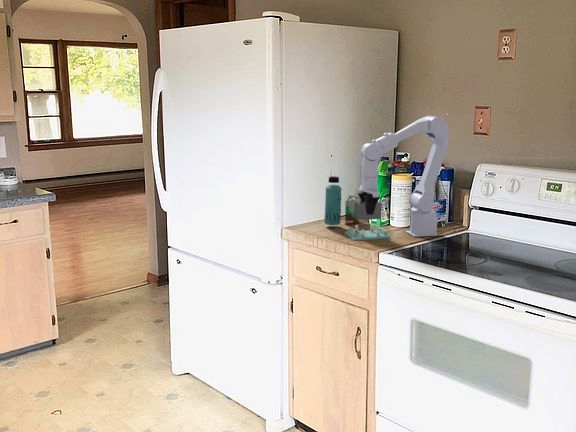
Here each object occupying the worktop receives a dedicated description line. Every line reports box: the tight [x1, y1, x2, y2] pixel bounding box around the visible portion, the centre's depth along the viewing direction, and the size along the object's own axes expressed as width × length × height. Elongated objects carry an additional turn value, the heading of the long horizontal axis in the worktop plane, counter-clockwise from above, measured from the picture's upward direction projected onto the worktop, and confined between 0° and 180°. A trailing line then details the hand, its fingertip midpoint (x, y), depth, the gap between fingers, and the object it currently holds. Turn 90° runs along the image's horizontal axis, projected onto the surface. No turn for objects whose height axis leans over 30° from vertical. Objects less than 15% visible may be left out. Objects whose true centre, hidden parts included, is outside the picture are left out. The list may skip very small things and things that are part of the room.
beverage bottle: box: [323, 175, 342, 226], centre depth 238 cm, size 6×7×20 cm
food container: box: [344, 195, 361, 226], centre depth 248 cm, size 12×6×10 cm, turn 168°
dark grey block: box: [354, 200, 383, 221], centre depth 225 cm, size 9×4×6 cm, turn 103°
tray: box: [344, 224, 391, 241], centre depth 227 cm, size 14×10×3 cm
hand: (368, 213), depth 225 cm, fingers closed on dark grey block, 4 cm apart
